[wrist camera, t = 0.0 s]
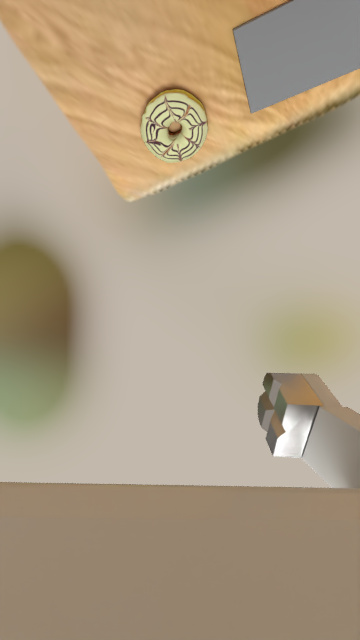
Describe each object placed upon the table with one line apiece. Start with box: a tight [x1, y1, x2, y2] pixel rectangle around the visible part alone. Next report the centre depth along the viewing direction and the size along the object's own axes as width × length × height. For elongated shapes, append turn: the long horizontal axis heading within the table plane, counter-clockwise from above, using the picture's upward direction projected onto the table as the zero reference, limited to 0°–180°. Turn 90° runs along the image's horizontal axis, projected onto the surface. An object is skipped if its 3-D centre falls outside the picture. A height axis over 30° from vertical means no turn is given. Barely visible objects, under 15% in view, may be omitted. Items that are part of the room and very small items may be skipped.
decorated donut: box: [140, 89, 208, 163], centre depth 54 cm, size 10×11×4 cm
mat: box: [233, 0, 360, 113], centre depth 46 cm, size 11×22×1 cm, turn 112°
